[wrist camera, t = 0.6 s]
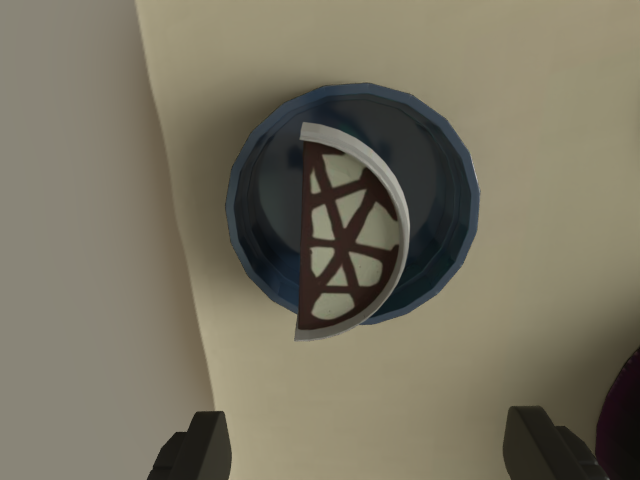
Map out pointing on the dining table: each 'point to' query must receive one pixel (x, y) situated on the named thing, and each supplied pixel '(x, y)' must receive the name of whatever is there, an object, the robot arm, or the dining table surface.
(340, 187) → the food container
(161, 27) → the dining table surface
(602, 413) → the decorative container
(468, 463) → the dining table surface
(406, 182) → the bowl
